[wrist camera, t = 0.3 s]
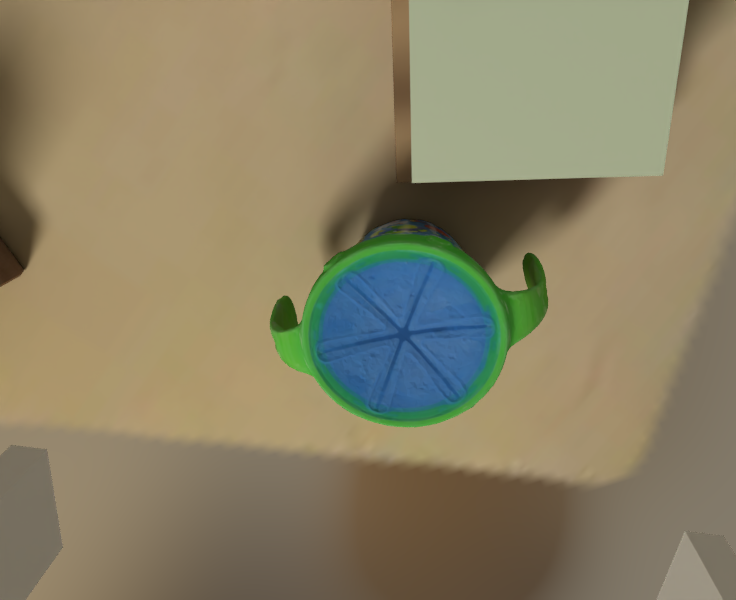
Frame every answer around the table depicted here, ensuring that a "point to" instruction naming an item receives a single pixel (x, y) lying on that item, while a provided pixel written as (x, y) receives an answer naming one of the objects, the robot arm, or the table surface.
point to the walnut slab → (402, 88)
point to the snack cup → (407, 326)
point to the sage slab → (542, 87)
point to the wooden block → (8, 265)
